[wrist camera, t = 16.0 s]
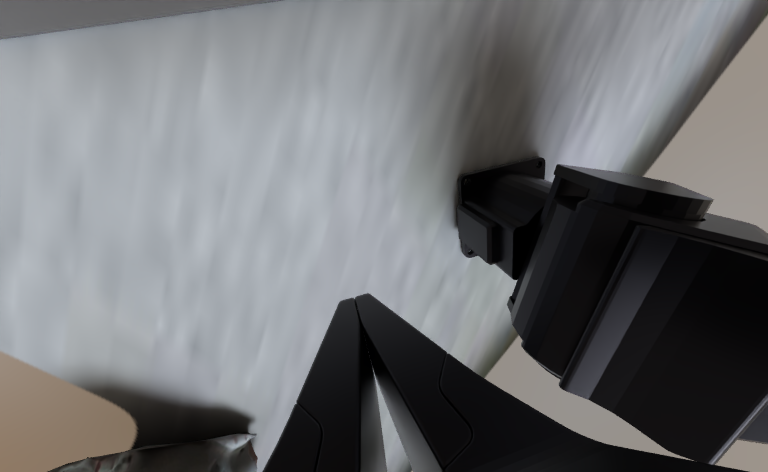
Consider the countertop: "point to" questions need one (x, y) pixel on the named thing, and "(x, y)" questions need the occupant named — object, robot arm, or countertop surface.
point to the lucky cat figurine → (176, 458)
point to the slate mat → (94, 13)
